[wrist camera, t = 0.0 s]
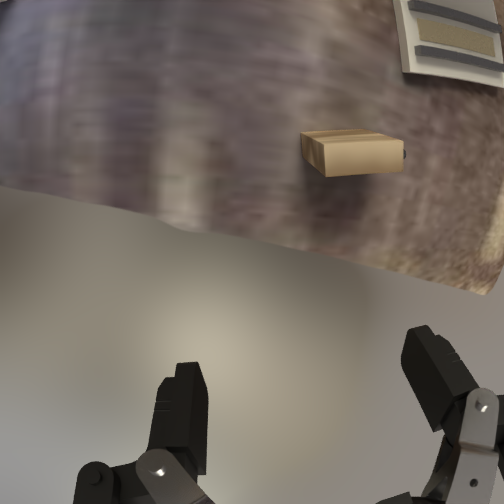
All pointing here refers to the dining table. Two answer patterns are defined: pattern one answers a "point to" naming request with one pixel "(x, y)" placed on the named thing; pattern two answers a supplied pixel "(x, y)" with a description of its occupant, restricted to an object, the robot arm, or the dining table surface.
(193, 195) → the dining table surface
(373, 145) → the wooden block
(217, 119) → the dining table surface
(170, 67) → the dining table surface
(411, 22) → the l-shaped angle bracket
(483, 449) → the robot arm
